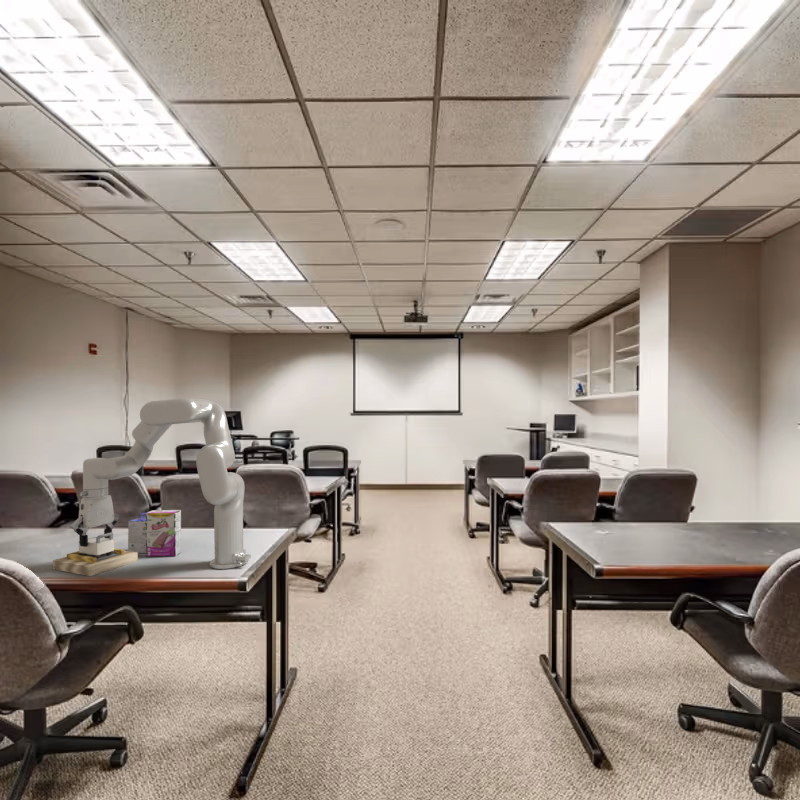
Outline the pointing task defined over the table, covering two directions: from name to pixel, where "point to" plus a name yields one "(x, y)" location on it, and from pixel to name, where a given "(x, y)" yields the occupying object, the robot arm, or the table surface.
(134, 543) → the ink cartridge box
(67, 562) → the dock
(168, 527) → the candy bar box
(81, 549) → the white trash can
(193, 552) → the table surface
